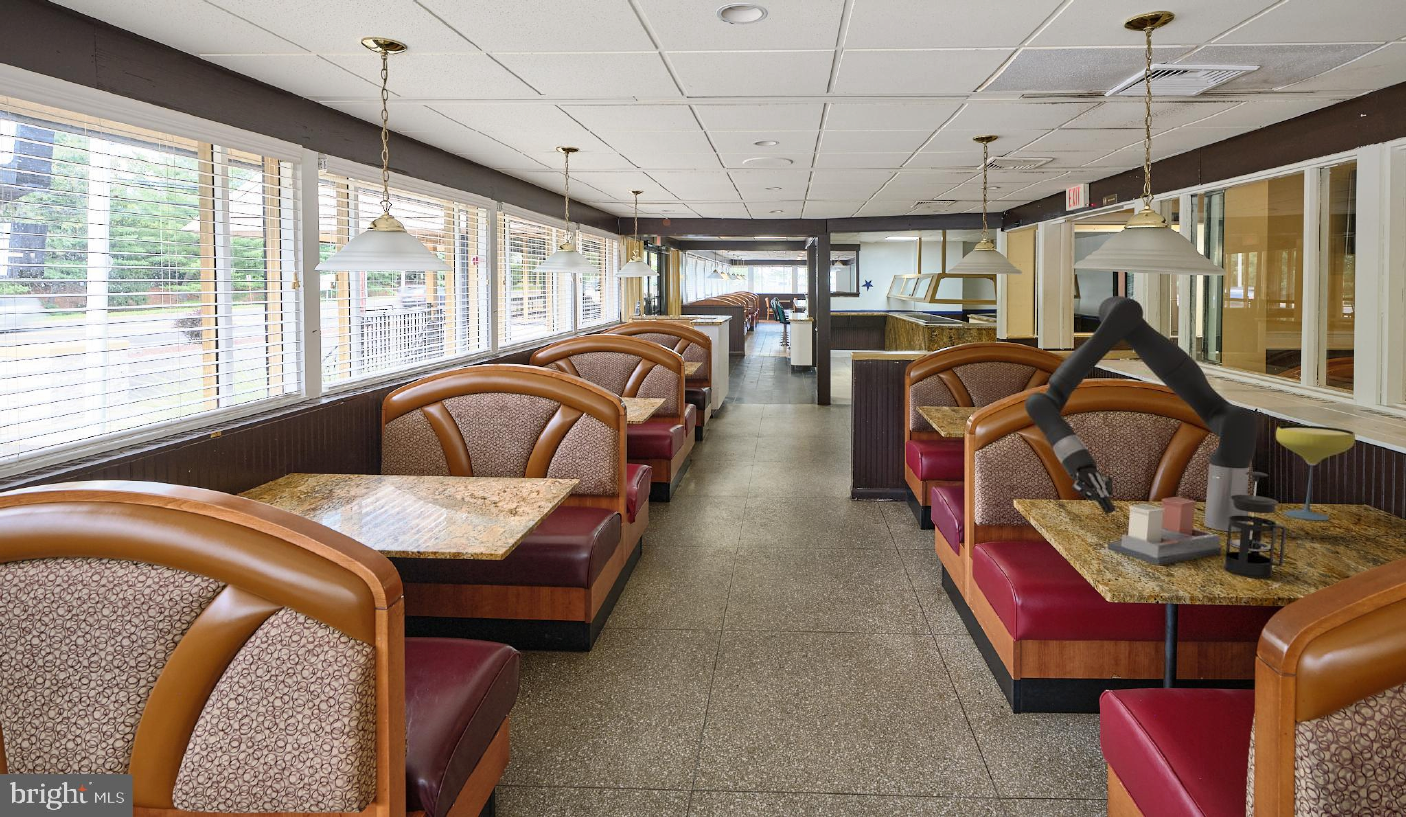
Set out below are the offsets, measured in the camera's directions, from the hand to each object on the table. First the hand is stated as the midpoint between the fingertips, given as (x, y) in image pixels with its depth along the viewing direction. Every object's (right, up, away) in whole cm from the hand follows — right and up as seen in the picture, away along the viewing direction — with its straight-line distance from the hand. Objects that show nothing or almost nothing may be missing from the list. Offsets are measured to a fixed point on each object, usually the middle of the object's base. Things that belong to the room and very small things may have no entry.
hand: (1111, 511), depth 214 cm
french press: (+21, -11, -22) cm, 32 cm away
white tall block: (+3, -8, -9) cm, 12 cm away
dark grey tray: (+9, -9, -5) cm, 14 cm away
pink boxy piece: (+15, -7, -2) cm, 17 cm away
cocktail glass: (+69, -5, +28) cm, 75 cm away
